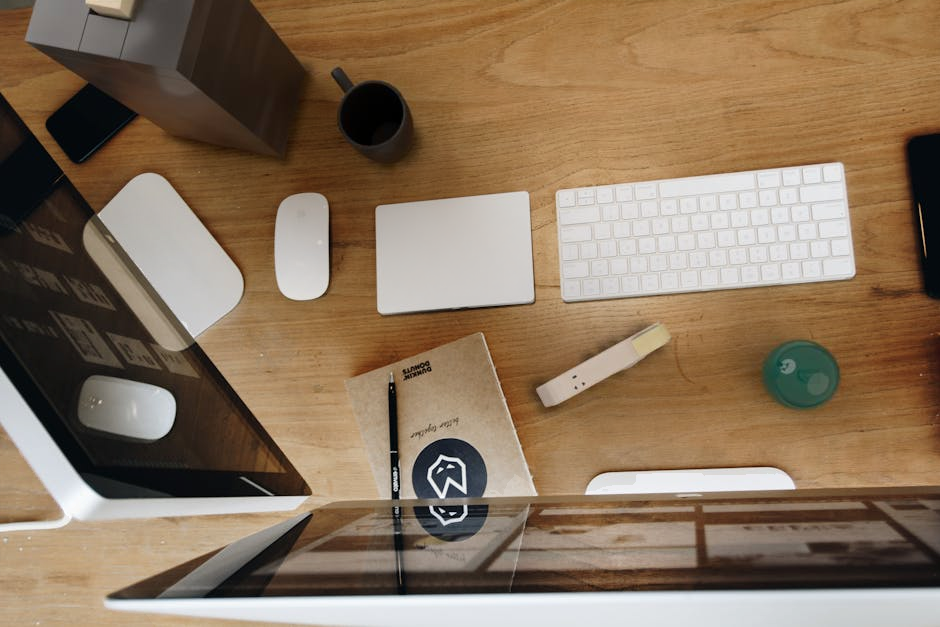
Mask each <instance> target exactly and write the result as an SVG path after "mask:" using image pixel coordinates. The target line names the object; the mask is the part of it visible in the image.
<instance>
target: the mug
mask: <svg viewBox="0 0 940 627" xmlns="http://www.w3.org/2000/svg"><path fill="white" fill-rule="evenodd" d="M330 76H331V77H332V79H333V80H334V82H335V83H336V84H337V85H338V87H339V88H340V89H341V91H342V92H343V94H344V95H343V97H342V98H341V100H340V102H339V105H338V108H337V115H336V117H337V118H336V119H337V120H336V121H337V126H338V129H339V132H340V133H341V136H342V138H344V139H345V141H346V142H347V143H348V144H349V145H350V146H351V147H352V148H353V149H354V150H355V151H356V152H357V153H358V154H360V155H361V156H363V157H364V158H366V159H368V160H370V161H371V160H372V161H374V162H378V163H384V164H397V163H399V162H401V161H403V160H404V159H405V158H406V157H407V156H408V155H409V153H410V152H411V149H412V147H413V141H414V135H415V128H414V118H413V115H412V112H411V109H410V107H409V105H408V103H407V101H406V99H405V98H404V96H403V94H402V92H400V91H399V89H398V88H397V87H395V86H394V85H393V84H390V83H389V82H386V81H383V80H377V79H370V80H364V81H361V82H359V83H357V84H354V83H353V81H352V80H351V78H350V77H349V76H348V75H347V73H346V72H345V71H344V69H343V68H342V67H340V66H336V67H334V68H333V69H332V70H331V71H330Z"/></svg>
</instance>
